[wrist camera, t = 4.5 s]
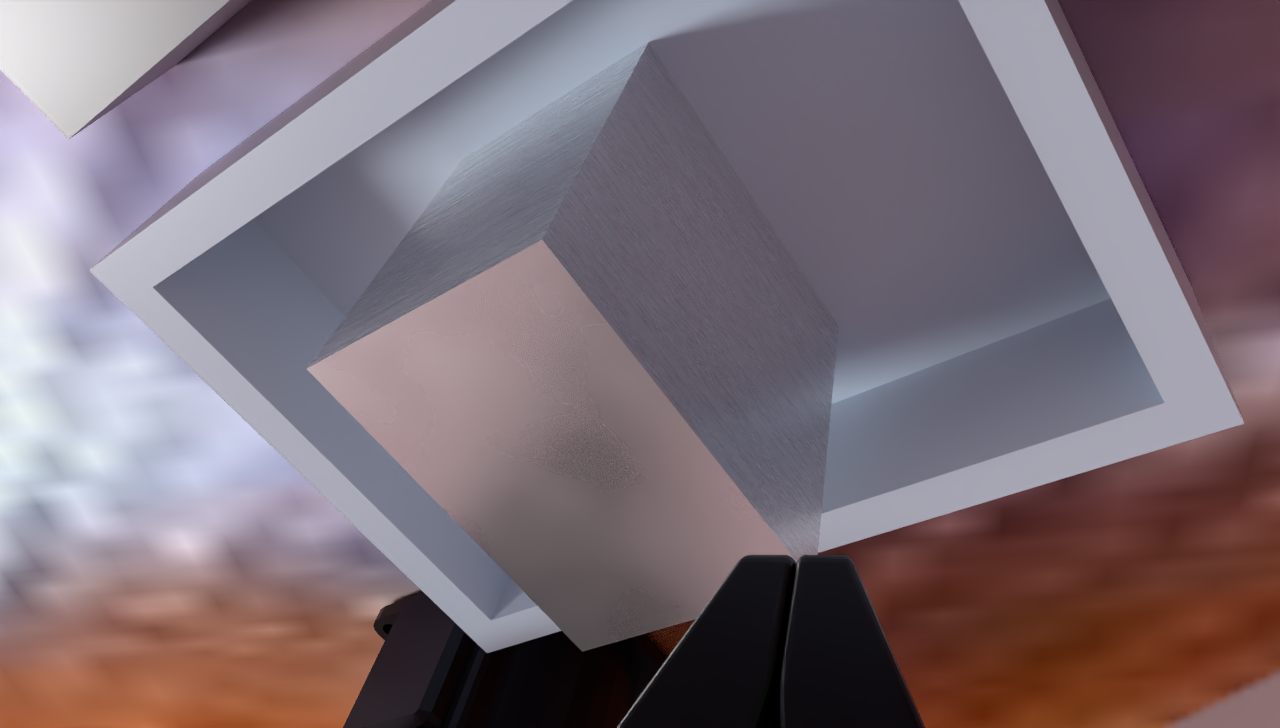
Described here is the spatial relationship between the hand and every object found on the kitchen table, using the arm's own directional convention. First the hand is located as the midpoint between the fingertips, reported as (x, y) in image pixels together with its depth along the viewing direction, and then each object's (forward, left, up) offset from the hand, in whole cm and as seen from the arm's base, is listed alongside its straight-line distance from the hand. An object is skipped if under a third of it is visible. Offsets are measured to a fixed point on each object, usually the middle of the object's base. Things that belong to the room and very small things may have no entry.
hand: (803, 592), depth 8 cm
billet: (-1, +4, -10) cm, 11 cm away
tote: (-1, +4, -11) cm, 11 cm away
